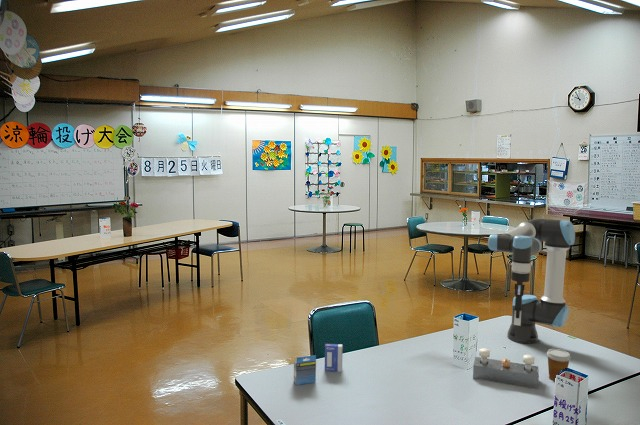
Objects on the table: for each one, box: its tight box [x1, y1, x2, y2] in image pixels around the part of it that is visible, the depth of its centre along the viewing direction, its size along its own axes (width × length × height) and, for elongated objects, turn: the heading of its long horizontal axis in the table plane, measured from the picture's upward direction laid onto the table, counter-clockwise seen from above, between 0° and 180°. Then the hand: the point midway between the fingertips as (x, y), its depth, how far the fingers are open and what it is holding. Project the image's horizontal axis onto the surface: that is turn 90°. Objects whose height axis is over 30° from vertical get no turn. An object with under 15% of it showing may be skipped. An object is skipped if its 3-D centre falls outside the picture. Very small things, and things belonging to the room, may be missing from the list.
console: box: [472, 356, 540, 391], centre depth 215 cm, size 10×26×6 cm, turn 68°
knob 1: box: [478, 347, 491, 364], centre depth 218 cm, size 4×4×8 cm
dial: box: [501, 358, 511, 367], centre depth 214 cm, size 3×3×3 cm
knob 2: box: [522, 354, 536, 371], centre depth 211 cm, size 4×4×8 cm
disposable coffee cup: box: [546, 348, 572, 382], centre depth 215 cm, size 10×10×12 cm
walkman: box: [324, 343, 344, 373], centre depth 222 cm, size 8×3×12 cm, turn 85°
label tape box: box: [293, 354, 317, 386], centre depth 210 cm, size 9×4×12 cm, turn 109°
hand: (517, 324), depth 216 cm, fingers closed
